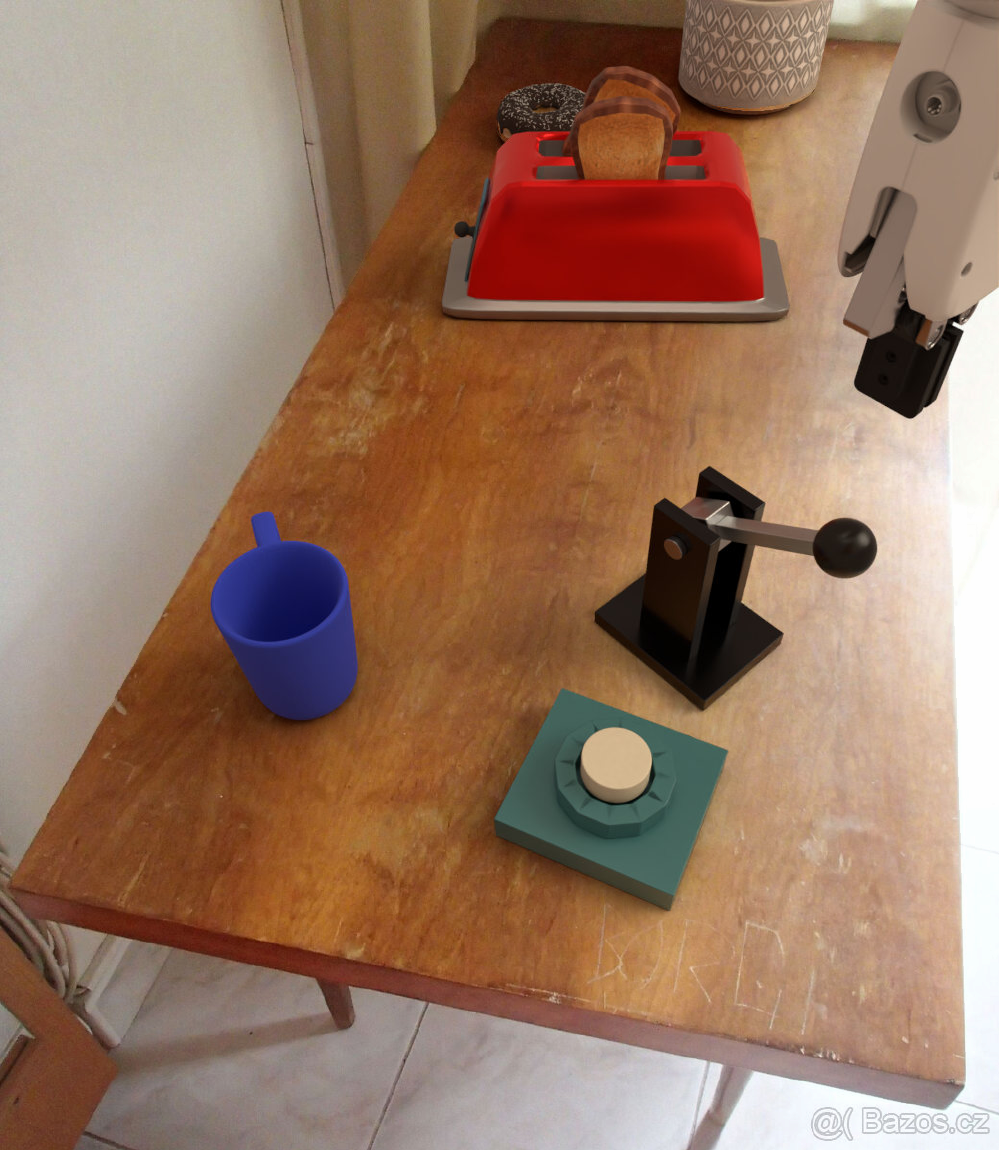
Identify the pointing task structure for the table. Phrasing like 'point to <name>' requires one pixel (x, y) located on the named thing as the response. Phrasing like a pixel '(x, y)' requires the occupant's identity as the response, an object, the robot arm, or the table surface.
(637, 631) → the bracket
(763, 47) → the planter
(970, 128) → the robot arm
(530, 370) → the table surface
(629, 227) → the toaster
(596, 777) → the button
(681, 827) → the button block
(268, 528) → the mug
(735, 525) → the lever
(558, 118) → the donut
